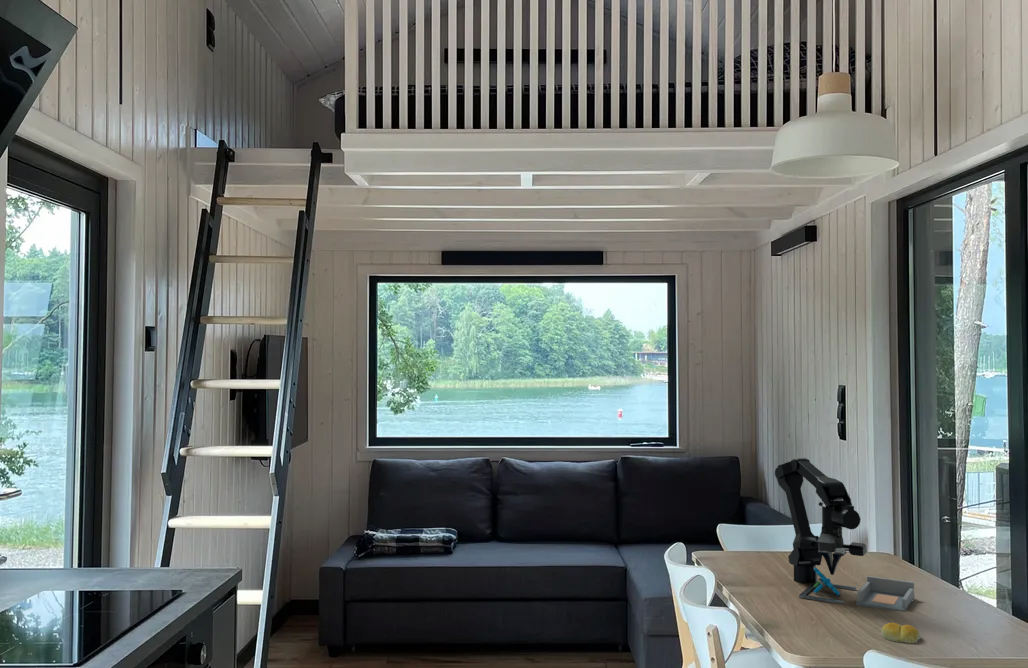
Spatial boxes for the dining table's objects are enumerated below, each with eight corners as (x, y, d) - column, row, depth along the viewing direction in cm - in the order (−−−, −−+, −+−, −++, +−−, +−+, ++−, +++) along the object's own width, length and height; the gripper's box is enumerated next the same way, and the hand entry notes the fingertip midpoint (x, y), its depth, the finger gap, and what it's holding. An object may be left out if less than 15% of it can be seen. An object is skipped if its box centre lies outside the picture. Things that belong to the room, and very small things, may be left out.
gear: (844, 596, 249) (820, 570, 251) (829, 609, 250) (805, 583, 251) (838, 586, 260) (814, 561, 261) (823, 599, 261) (800, 574, 262)
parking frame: (799, 597, 251) (799, 595, 251) (814, 583, 267) (814, 581, 267) (842, 604, 244) (842, 601, 244) (856, 589, 260) (856, 587, 260)
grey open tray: (855, 606, 243) (855, 588, 243) (868, 591, 258) (868, 575, 258) (904, 613, 235) (904, 595, 236) (914, 598, 250) (914, 581, 251)
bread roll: (884, 632, 218) (884, 616, 218) (922, 640, 213) (922, 624, 213) (877, 640, 211) (878, 624, 211) (916, 648, 206) (917, 632, 206)
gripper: (793, 523, 254) (794, 575, 253) (859, 530, 244) (859, 585, 243) (803, 518, 263) (803, 568, 263) (866, 524, 253) (867, 576, 252)
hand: (832, 574), depth 255 cm, fingers closed
